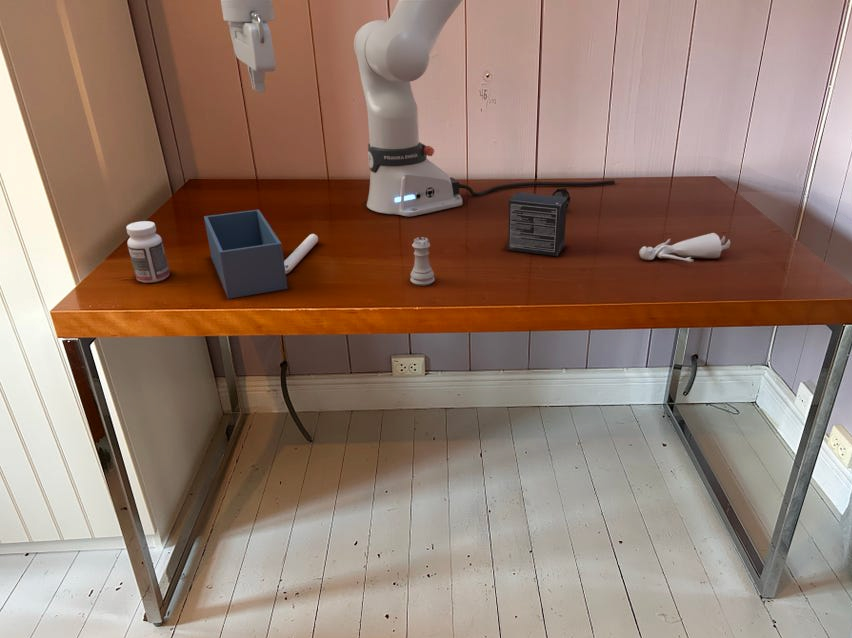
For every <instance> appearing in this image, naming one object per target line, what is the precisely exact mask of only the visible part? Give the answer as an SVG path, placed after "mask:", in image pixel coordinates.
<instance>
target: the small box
mask: <svg viewBox="0 0 852 638" xmlns="http://www.w3.org/2000/svg"><path fill="white" fill-rule="evenodd" d="M567 197H568V196H567ZM567 197H560V196H552V195H551V194H549V195H548V194H541V193H531V192H530V193H529V192H519V191H517V192H516V193H515V194H514V195H512V196H511V198H508V225H507V226H508V227H507V229H508V232H507V249H506V250H507V251H511V252H519V253H528V254H534V255H543V256H549V257H550V256H551V257H558V256H559V255H560V253H561V251H563V249H564V247H565V239H566V238H565V237H566V236H565V235H566V223H567V209H568V207H567Z"/></svg>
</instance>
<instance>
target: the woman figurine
mask: <svg viewBox="0 0 852 638" xmlns="http://www.w3.org/2000/svg"><path fill="white" fill-rule="evenodd" d="M722 236H723V237H722V238H721V239H720V236H719V235H718V234H717V233H715V232H711V233H707V234H703V235H699V236H696V237H692V238H687V239H684V240H681V241H679V242H676V243H674V244H672V245H669V243H670V242H671V240H672V238H668V239H667V240H666V241H665V242H662V243H659V244H657V245H656V246H655V247H652V246H645V245H644V246H642V247H641V248H640V249H639V251H638V254H639V255H638V256H639V257H640V258H641V259H642V260H644V261H651V260H654V259H655V258H656V257H657V258H660V259H670V260H678V261H684V262H687V263H694V259H715V260H717V259H719V258H720V257H721V254H722V251H724V250H727V249H730V248H731V246H730V245H731V240H730V239H727V242H726V243H725V241H726V236H725V235H722ZM692 258H693V259H692Z"/></svg>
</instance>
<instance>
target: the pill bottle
mask: <svg viewBox="0 0 852 638" xmlns="http://www.w3.org/2000/svg"><path fill="white" fill-rule="evenodd" d="M156 231H157V227H156V224H155V222H154V221H149V220H142V221H135V222H131V223H128V224H127V225H126V234H127V235H128V236H129V238H128V239H127V243H126V244H127V249H128V253H129V255H130V256H129V257H130V259H131V260H130V261H131V263H132V264H131V265H132V267H133V273H134V275H135V279H136V280H137V281H138V282H140V283H145V284H151V283H158V282H161V281H164V280H166V279H167V278H169V276H170V267H169V264H168V260H167V256H166V252H165V246H164V242H163V239H162V237H161V236H160V235H159V234H158V233H156Z"/></svg>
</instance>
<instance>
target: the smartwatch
mask: <svg viewBox="0 0 852 638" xmlns="http://www.w3.org/2000/svg"><path fill="white" fill-rule="evenodd" d="M551 196H560V197H567V208H569V205H570V204H571V196H570V192H569V191H568V190H567V188H566V187H563V188H561V187H560V188H557V189H556V190H554V191H553V193H552V195H551Z"/></svg>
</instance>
